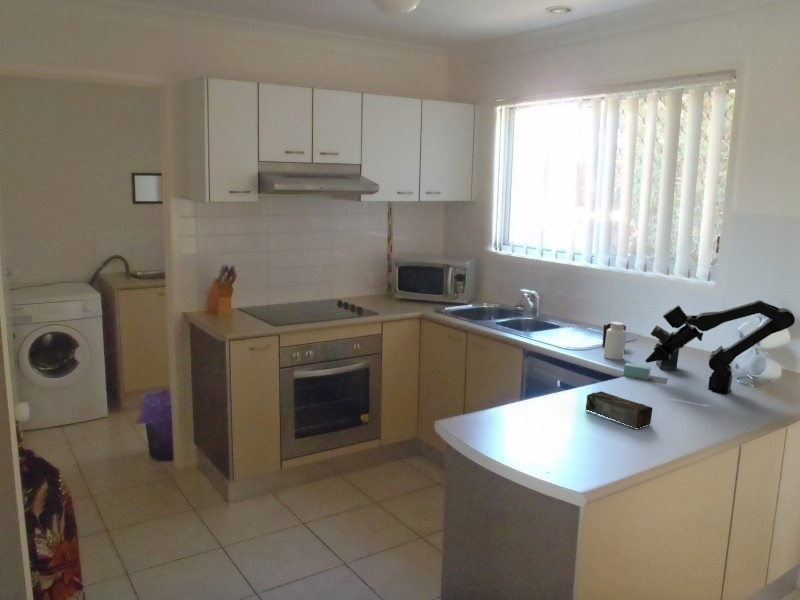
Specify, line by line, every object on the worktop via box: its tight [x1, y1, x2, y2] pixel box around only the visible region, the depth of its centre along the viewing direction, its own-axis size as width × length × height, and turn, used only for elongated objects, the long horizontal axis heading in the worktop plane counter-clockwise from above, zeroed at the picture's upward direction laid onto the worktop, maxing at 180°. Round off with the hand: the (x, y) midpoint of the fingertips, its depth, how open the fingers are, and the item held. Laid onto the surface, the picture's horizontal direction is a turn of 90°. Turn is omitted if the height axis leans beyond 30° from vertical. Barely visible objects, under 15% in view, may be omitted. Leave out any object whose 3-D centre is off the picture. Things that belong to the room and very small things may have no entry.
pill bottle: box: [603, 321, 627, 361], centre depth 277 cm, size 8×8×15 cm
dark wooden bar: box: [585, 391, 653, 429], centre depth 208 cm, size 8×19×7 cm, turn 38°
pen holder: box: [602, 322, 627, 348], centre depth 295 cm, size 9×9×10 cm
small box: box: [655, 339, 680, 372], centre depth 266 cm, size 11×6×10 cm, turn 168°
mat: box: [634, 374, 669, 385], centre depth 250 cm, size 11×8×1 cm
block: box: [623, 362, 652, 379], centre depth 252 cm, size 4×4×9 cm
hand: (646, 361), depth 250 cm, fingers closed
